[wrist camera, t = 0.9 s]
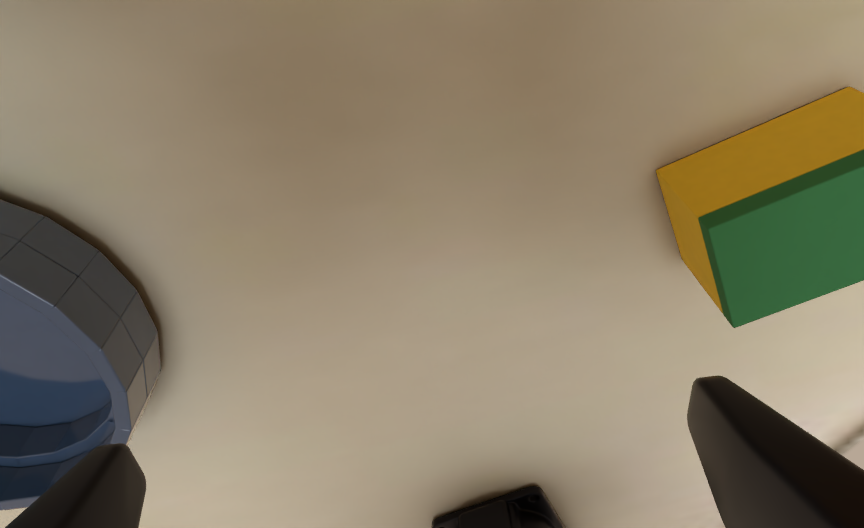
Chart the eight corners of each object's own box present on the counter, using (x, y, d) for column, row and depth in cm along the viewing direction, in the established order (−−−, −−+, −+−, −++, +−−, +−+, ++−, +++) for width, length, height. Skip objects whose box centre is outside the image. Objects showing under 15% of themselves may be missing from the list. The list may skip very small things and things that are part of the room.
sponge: (849, 85, 21) (949, 131, 17) (858, 189, 23) (948, 249, 19) (655, 169, 22) (708, 229, 18) (681, 259, 25) (733, 329, 21)
